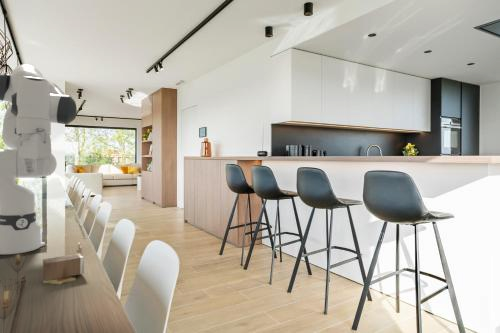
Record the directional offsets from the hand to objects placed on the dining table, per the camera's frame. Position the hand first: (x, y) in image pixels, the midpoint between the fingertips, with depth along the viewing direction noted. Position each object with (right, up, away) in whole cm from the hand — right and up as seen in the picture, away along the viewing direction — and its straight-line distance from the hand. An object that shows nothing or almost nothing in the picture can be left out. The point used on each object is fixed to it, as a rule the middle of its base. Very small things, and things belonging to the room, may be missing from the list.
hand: (33, 173), depth 100 cm
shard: (+10, -32, -3) cm, 34 cm away
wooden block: (+7, -28, -6) cm, 29 cm away
